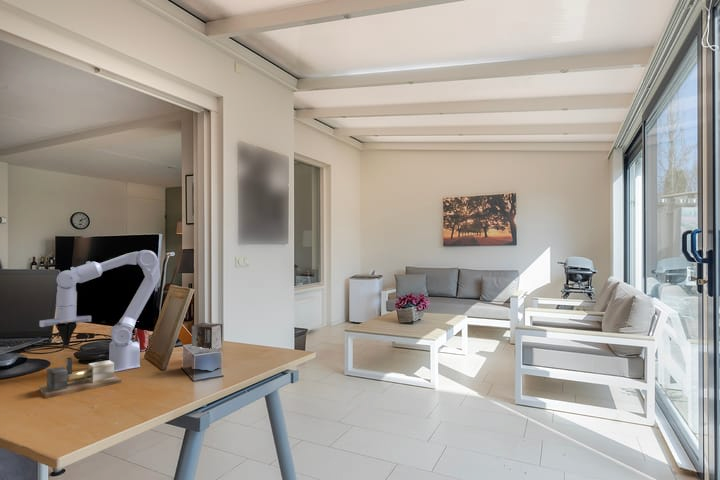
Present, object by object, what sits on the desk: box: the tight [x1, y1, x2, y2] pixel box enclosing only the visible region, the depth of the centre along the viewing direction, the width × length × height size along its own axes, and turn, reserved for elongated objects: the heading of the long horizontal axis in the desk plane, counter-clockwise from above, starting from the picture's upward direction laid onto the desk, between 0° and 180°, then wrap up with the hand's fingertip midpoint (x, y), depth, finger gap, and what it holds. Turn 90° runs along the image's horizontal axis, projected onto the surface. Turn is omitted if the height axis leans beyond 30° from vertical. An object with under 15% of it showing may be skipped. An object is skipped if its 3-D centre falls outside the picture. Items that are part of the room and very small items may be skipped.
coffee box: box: [191, 322, 224, 356], centre depth 154 cm, size 9×6×16 cm
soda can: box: [134, 327, 150, 352], centre depth 178 cm, size 5×5×12 cm
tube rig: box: [38, 360, 122, 399], centre depth 133 cm, size 20×10×6 cm, turn 137°
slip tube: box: [65, 356, 92, 382], centre depth 132 cm, size 9×3×7 cm, turn 137°
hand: (65, 345), depth 143 cm, fingers closed
